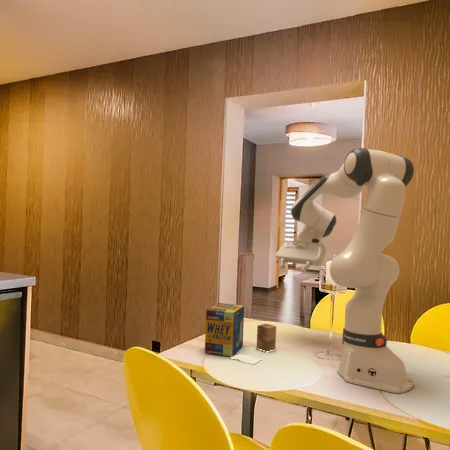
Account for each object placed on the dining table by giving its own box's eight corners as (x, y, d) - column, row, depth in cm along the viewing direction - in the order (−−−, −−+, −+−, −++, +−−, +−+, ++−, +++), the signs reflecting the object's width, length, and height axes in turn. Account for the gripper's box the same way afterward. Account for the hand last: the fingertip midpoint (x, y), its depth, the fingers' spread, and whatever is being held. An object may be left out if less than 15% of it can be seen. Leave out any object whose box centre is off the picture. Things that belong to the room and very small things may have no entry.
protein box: (204, 353, 145) (205, 309, 146) (217, 342, 160) (218, 302, 160) (232, 357, 142) (233, 312, 143) (243, 345, 157) (244, 304, 157)
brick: (275, 350, 154) (276, 326, 154) (267, 352, 150) (268, 328, 150) (264, 347, 157) (265, 323, 157) (256, 349, 153) (257, 325, 153)
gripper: (281, 237, 174) (267, 261, 166) (325, 240, 160) (311, 267, 153) (287, 248, 177) (272, 272, 170) (330, 252, 163) (317, 278, 156)
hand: (291, 269), depth 161 cm, fingers open, 8 cm apart
